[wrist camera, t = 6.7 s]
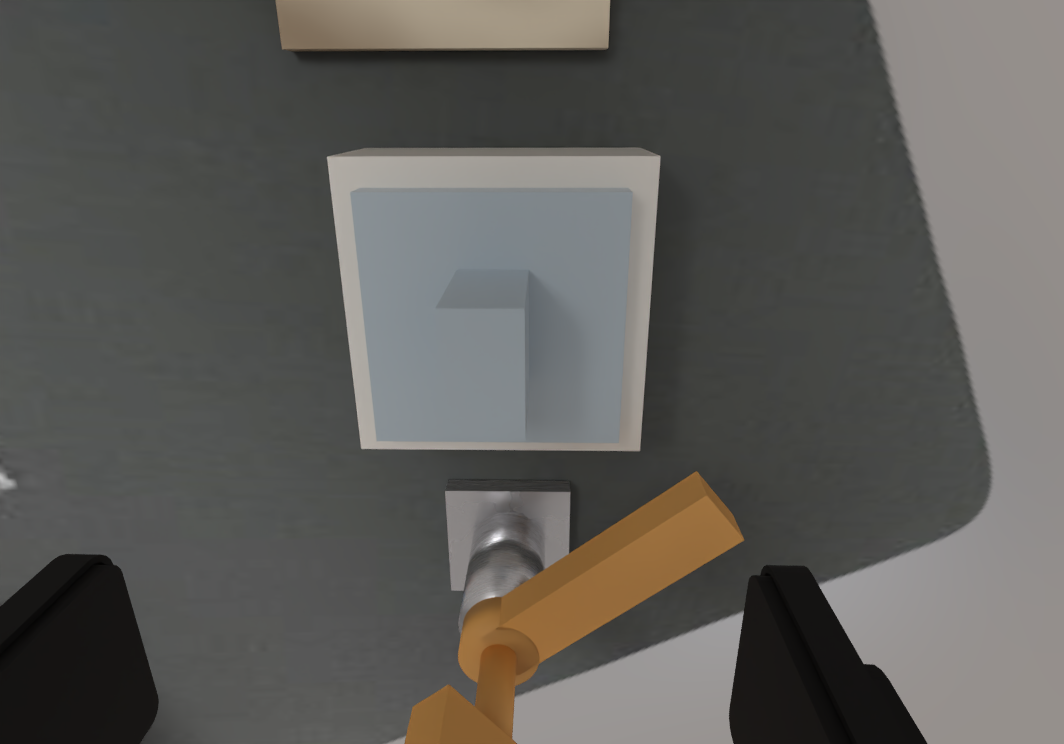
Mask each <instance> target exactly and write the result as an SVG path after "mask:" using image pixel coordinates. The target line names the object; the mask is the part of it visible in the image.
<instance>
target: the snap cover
mask: <svg viewBox="0 0 1064 744" xmlns="http://www.w3.org/2000/svg"><path fill="white" fill-rule="evenodd" d="M350 196H351V205H352V215H353V224H354V233H355V243H356V252H357V261H358V271H359V280H360V290H361V299H362V308H363V318H364V327H365V336H366V346H367V355H368V365H369V374H370V383H371V393H372V402H373V411H374V421H375V430H376V439H377V441H410V442H539V443H619V432H620V414H621V395H622V377H623V359H624V341H625V323H626V305H627V287H628V269H629V251H630V233H631V215H632V197H633V192H632V191H631V190H630V189H629V188H358V189H356V190H354V191H351V192H350Z"/></svg>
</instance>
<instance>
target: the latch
mask: <svg viewBox="0 0 1064 744" xmlns="http://www.w3.org/2000/svg"><path fill="white" fill-rule="evenodd" d="M742 541H744V538H743V536H742V534H741V532H740V529H739V527H738V525H737V523H736V521H735V518H734V516H733V514H732V513H731V512H730V510H729V509H728V508H727V507H726V506H725V504H724V503H723V502H722V501H721V500H720V498H719V497H718V496H717V495H716V494H715V492H714V491H713V490H712V489H711V488H710V486H709V485H708V484H707V483H706V482H705V480H704V479H703V478H702V477H701V476H700V474H699V473H698V472H697V471H696V472H695V473H693V474H691V475H690V476H688V477H687V478H685V479H684V480H682V481H681V482H679V483H678V484H676V485H674V486H673V487H671V488H670V489H668V490H667V491H665V492H664V493H662V494H661V495H659V496H657V497H656V498H654V499H653V500H651V501H650V502H648V503H647V504H645V505H643V506H642V507H640V508H639V509H637V510H636V511H634V512H633V513H631V514H630V515H628V516H626V517H625V518H623V519H622V520H620V521H619V522H617V523H616V524H614V525H613V526H611V527H609V528H608V529H606V530H605V531H603V532H602V533H600V534H599V535H597V536H596V537H594V538H592V539H591V540H589V541H588V542H586V543H585V544H583V545H582V546H580V547H579V548H577V549H575V550H574V551H572V552H571V553H569V554H568V555H566V556H565V557H563V558H562V559H560V560H558V561H557V562H555V563H554V564H552V565H551V566H549V567H548V568H546V569H545V570H543V571H541V572H540V573H538V574H537V575H535V576H534V577H532V578H531V579H529V580H528V581H526V582H524V583H523V584H521V585H520V586H518V587H517V588H515V589H514V590H512V591H511V592H509V593H507V594H506V595H504V596H503V597H493V598H488V599H485V600H482V601H480V602H478V603H476V604H475V605H474V606H472V607H471V608H470V609H469V610H468V612H467V613H466V615H465V617H464V621H463V627H462V633H461V639H460V645H459V652H458V660H459V664H460V667H461V668H462V670H463V671H464V673H465V674H466V675H467V676H468V677H469V678H471V679H472V680H473V681H475V682H477V683H478V685H477V693H476V702H475V707H474V706H473V705H472V704H471V703H470V702H469V701H467V700H466V699H465V698H464V697H463V696H462V695H461V694H459V693H458V692H457V691H456V690H455V689H454V688H452V687H451V686H450V685H447V686H445V687H444V688H442V689H441V690H439V691H437V692H436V693H434V694H433V695H431V696H429V697H428V698H426V699H424V700H423V701H421V702H420V703H418V704H416V705H415V706H413V708H412V713H411V717H410V722H409V726H408V731H407V735H406V739H405V744H517V743H516V742H515V741H514V740H512V732H513V714H514V695H515V686H516V685H519V684H521V683H523V682H525V681H527V680H528V679H529V678H530V677H531V676H532V675H533V674H534V673H535V671H536V670H537V668H538V665H539V663H541V662H542V661H544V660H546V659H547V658H549V657H551V656H552V655H554V654H556V653H557V652H559V651H561V650H562V649H564V648H566V647H567V646H569V645H571V644H572V643H574V642H576V641H577V640H579V639H581V638H582V637H584V636H586V635H587V634H589V633H591V632H592V631H594V630H596V629H597V628H599V627H601V626H602V625H604V624H606V623H607V622H609V621H611V620H612V619H614V618H616V617H617V616H619V615H621V614H622V613H624V612H626V611H627V610H629V609H631V608H632V607H634V606H636V605H637V604H639V603H641V602H642V601H644V600H646V599H647V598H649V597H651V596H652V595H654V594H655V593H657V592H659V591H660V590H662V589H664V588H665V587H667V586H669V585H670V584H672V583H674V582H675V581H677V580H679V579H680V578H682V577H684V576H685V575H687V574H689V573H690V572H692V571H694V570H695V569H697V568H699V567H700V566H702V565H704V564H705V563H707V562H709V561H710V560H712V559H714V558H715V557H717V556H719V555H720V554H722V553H724V552H725V551H727V550H729V549H730V548H732V547H734V546H735V545H737V544H739V543H740V542H742Z"/></svg>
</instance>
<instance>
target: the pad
mask: <svg viewBox="0 0 1064 744" xmlns="http://www.w3.org/2000/svg"><path fill="white" fill-rule="evenodd" d="M276 7H277V15H278V22H279V30H280V37H281V44H282V49H284V50H288V51H479V50H606V49H607V48H608V43H609V17H610V0H276Z"/></svg>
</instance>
